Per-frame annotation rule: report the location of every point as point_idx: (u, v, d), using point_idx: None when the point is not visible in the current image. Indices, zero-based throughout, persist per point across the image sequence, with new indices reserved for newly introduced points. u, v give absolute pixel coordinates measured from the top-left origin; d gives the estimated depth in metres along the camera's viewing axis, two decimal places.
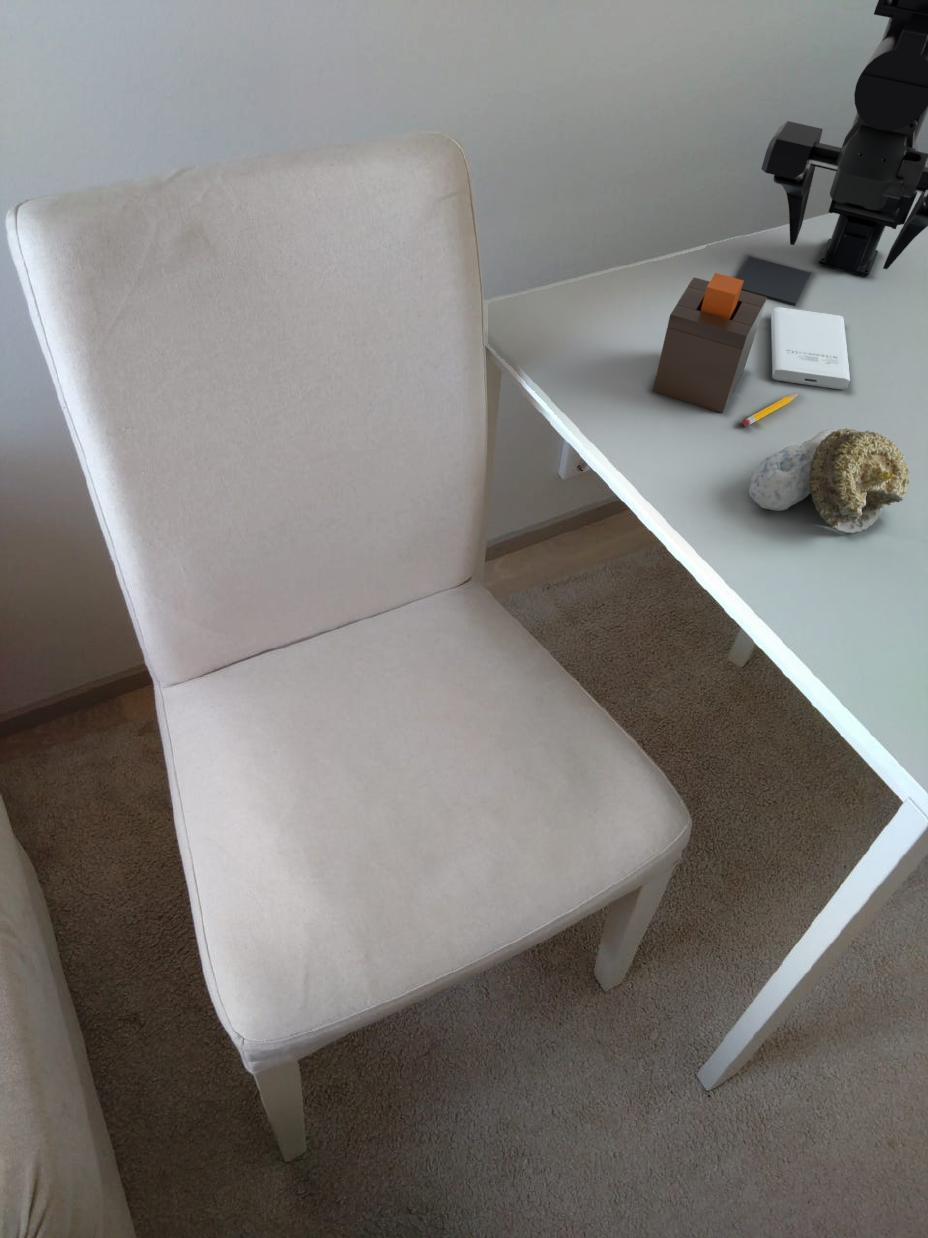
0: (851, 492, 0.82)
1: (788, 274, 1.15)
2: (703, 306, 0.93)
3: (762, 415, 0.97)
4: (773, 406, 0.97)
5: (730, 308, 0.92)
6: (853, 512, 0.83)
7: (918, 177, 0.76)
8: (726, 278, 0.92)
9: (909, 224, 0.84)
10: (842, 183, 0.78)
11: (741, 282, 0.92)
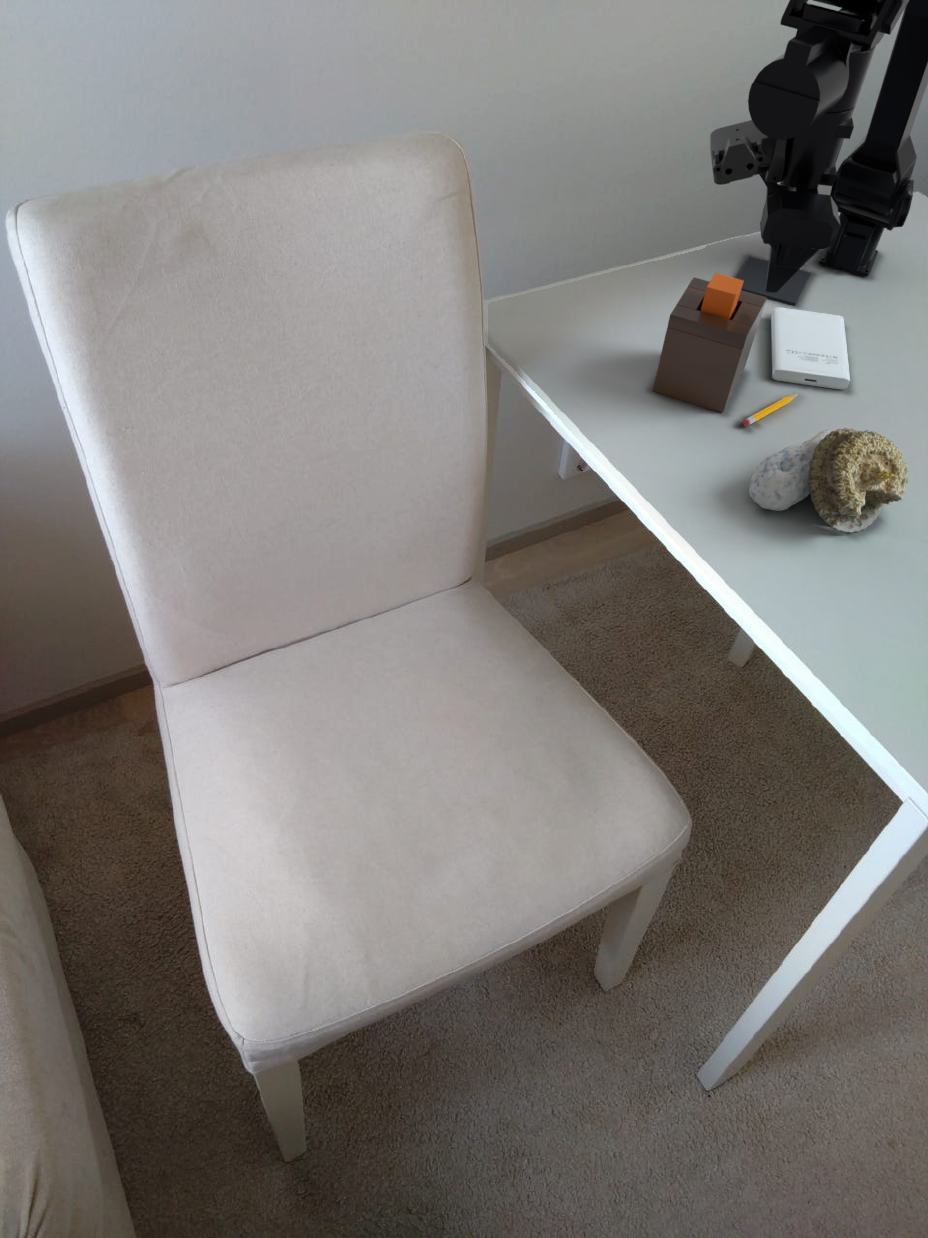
0: (850, 491, 0.82)
1: None
2: (703, 306, 0.93)
3: (762, 415, 0.97)
4: (773, 406, 0.97)
5: (730, 308, 0.92)
6: (852, 511, 0.83)
7: (724, 157, 0.80)
8: (726, 278, 0.92)
9: None
10: None
11: (741, 282, 0.92)
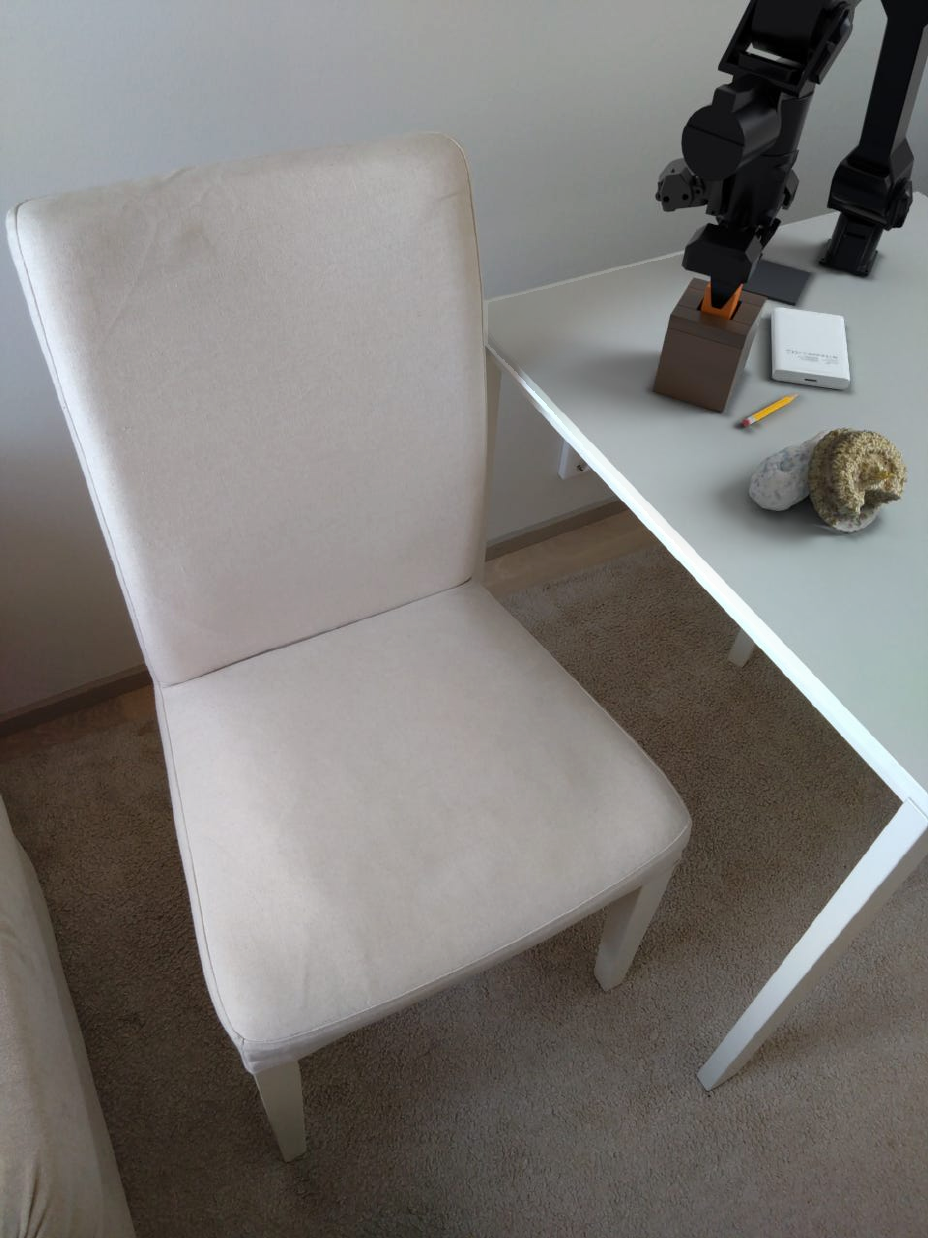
0: (850, 491, 0.82)
1: (788, 274, 1.15)
2: (703, 306, 0.93)
3: (762, 415, 0.97)
4: (773, 406, 0.97)
5: (730, 308, 0.92)
6: (851, 511, 0.83)
7: (662, 185, 0.84)
8: None
9: None
10: None
11: None
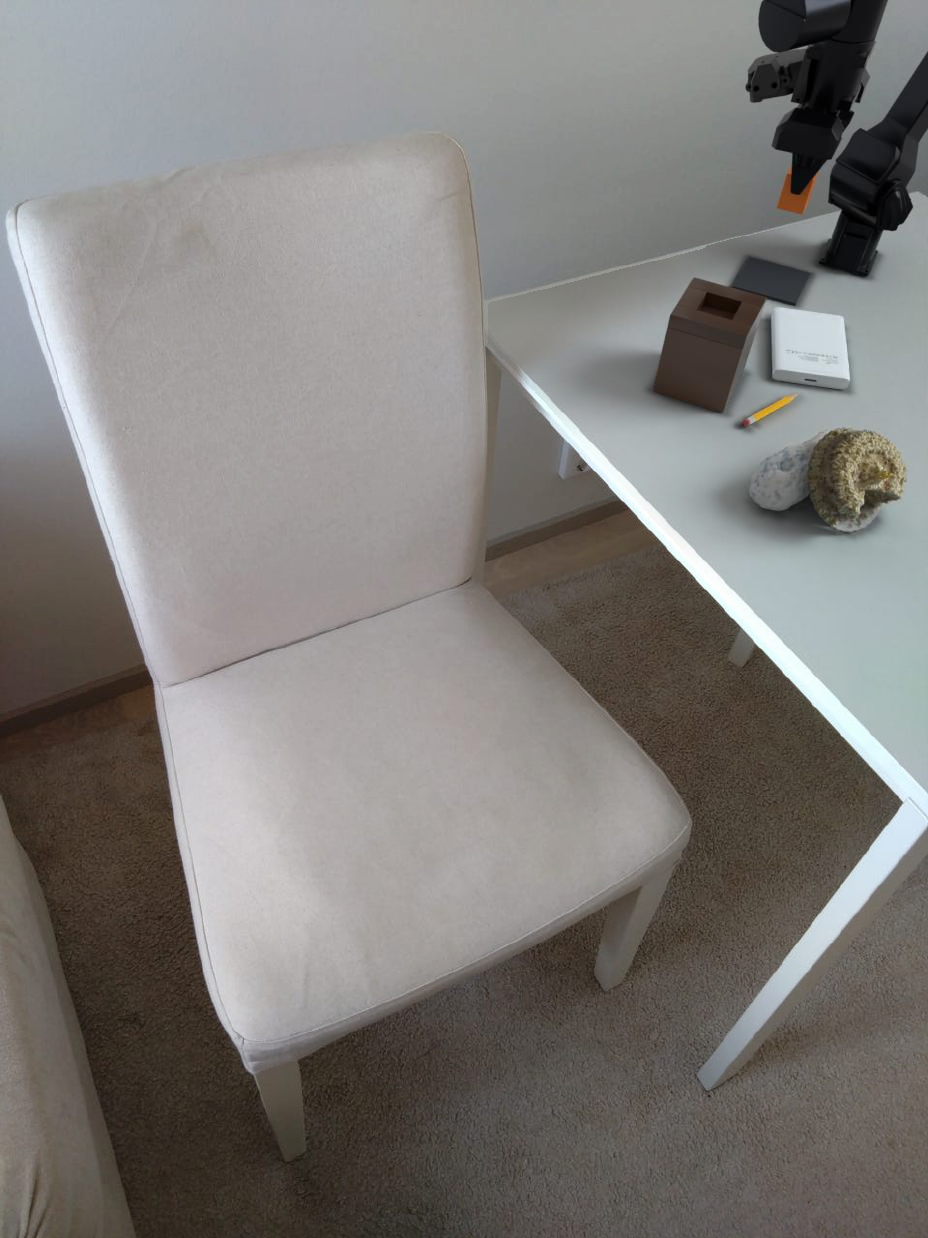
0: (850, 491, 0.82)
1: (788, 274, 1.15)
2: (782, 193, 1.03)
3: (762, 415, 0.97)
4: (773, 406, 0.97)
5: (807, 193, 1.02)
6: (851, 511, 0.83)
7: (753, 75, 0.94)
8: None
9: None
10: None
11: None
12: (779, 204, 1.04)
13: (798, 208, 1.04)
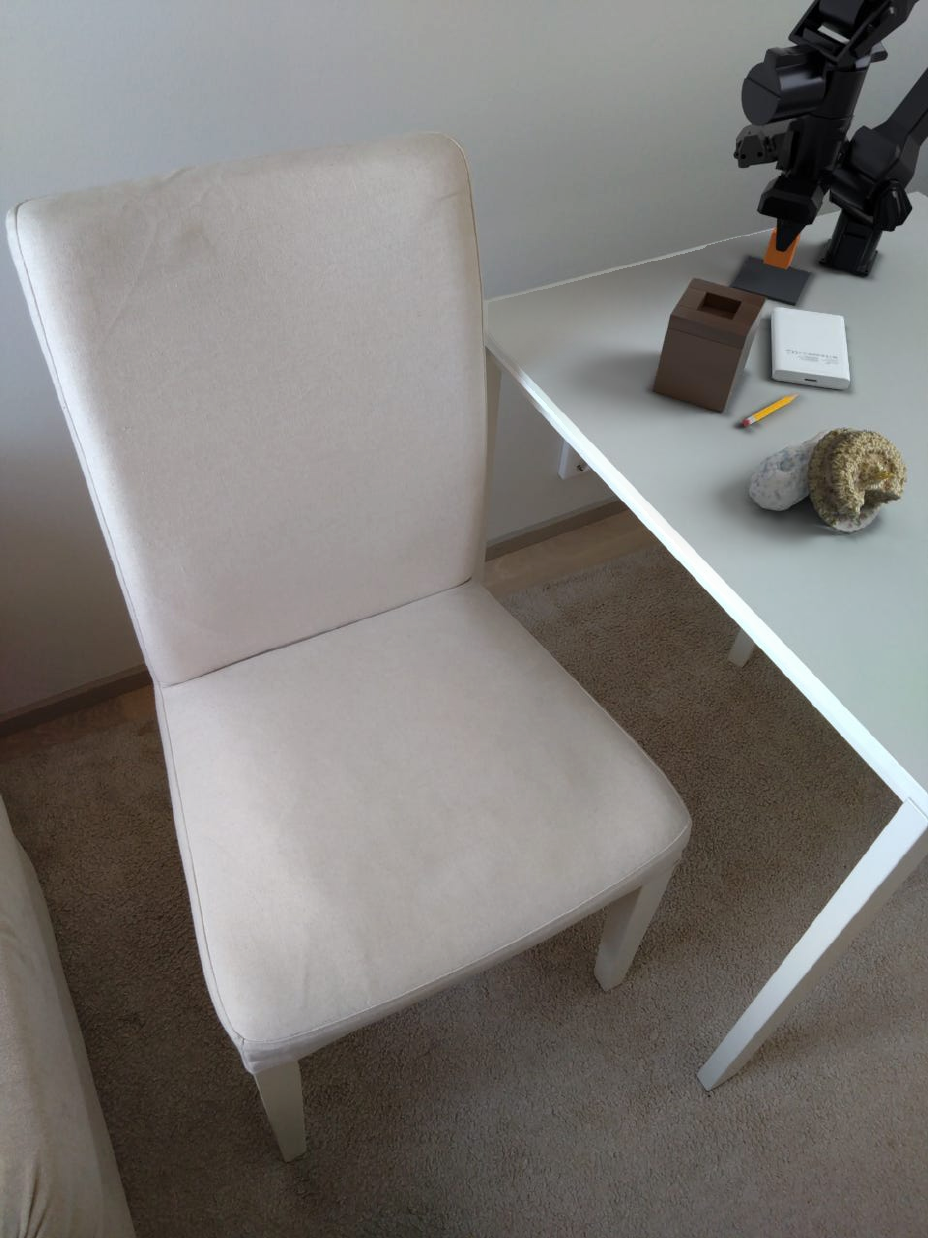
0: (850, 491, 0.82)
1: (788, 274, 1.15)
2: (768, 249, 1.10)
3: (762, 415, 0.97)
4: (773, 406, 0.97)
5: (791, 250, 1.09)
6: (851, 511, 0.83)
7: (740, 144, 1.01)
8: None
9: None
10: None
11: None
12: (765, 259, 1.11)
13: (783, 263, 1.11)
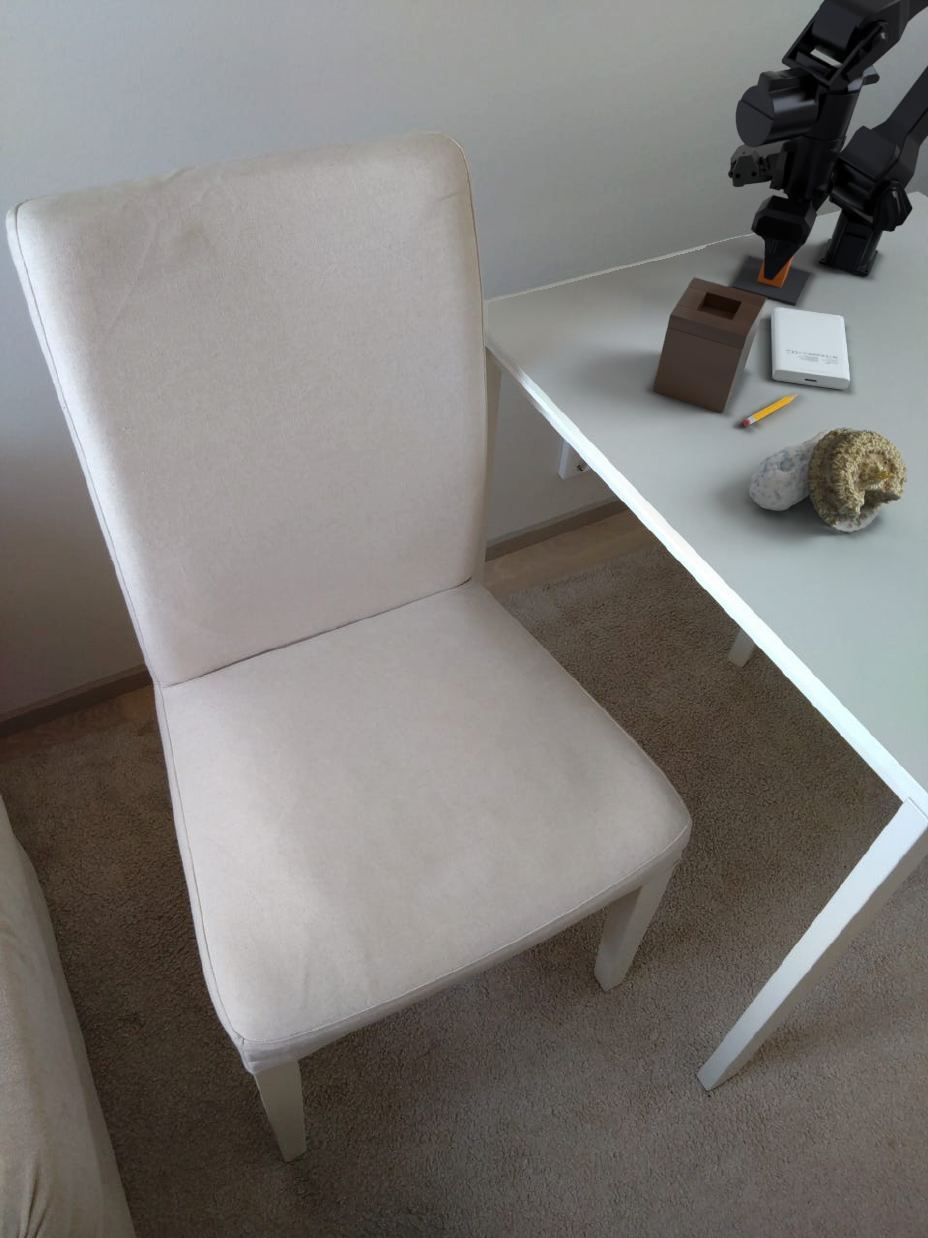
0: (850, 491, 0.82)
1: (788, 274, 1.15)
2: (762, 268, 1.12)
3: (762, 415, 0.97)
4: (773, 406, 0.97)
5: (785, 269, 1.11)
6: (851, 511, 0.83)
7: (735, 164, 1.03)
8: None
9: None
10: None
11: None
12: (759, 278, 1.13)
13: (777, 282, 1.13)
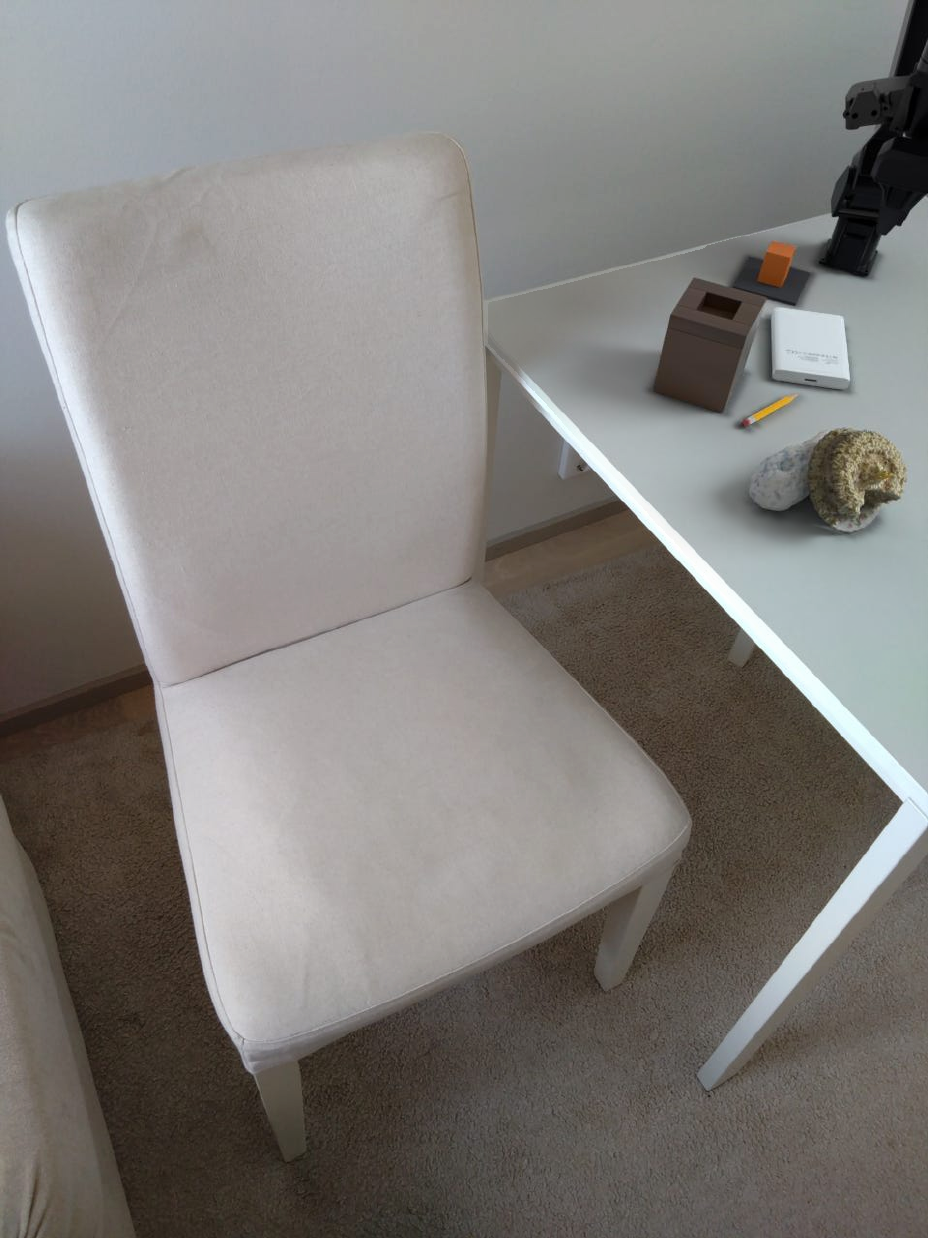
0: (850, 491, 0.82)
1: (788, 274, 1.15)
2: (762, 268, 1.12)
3: (762, 415, 0.97)
4: (773, 406, 0.97)
5: (785, 269, 1.11)
6: (851, 511, 0.83)
7: (852, 102, 0.92)
8: (781, 244, 1.12)
9: None
10: None
11: (794, 248, 1.11)
12: (759, 278, 1.13)
13: (777, 282, 1.13)
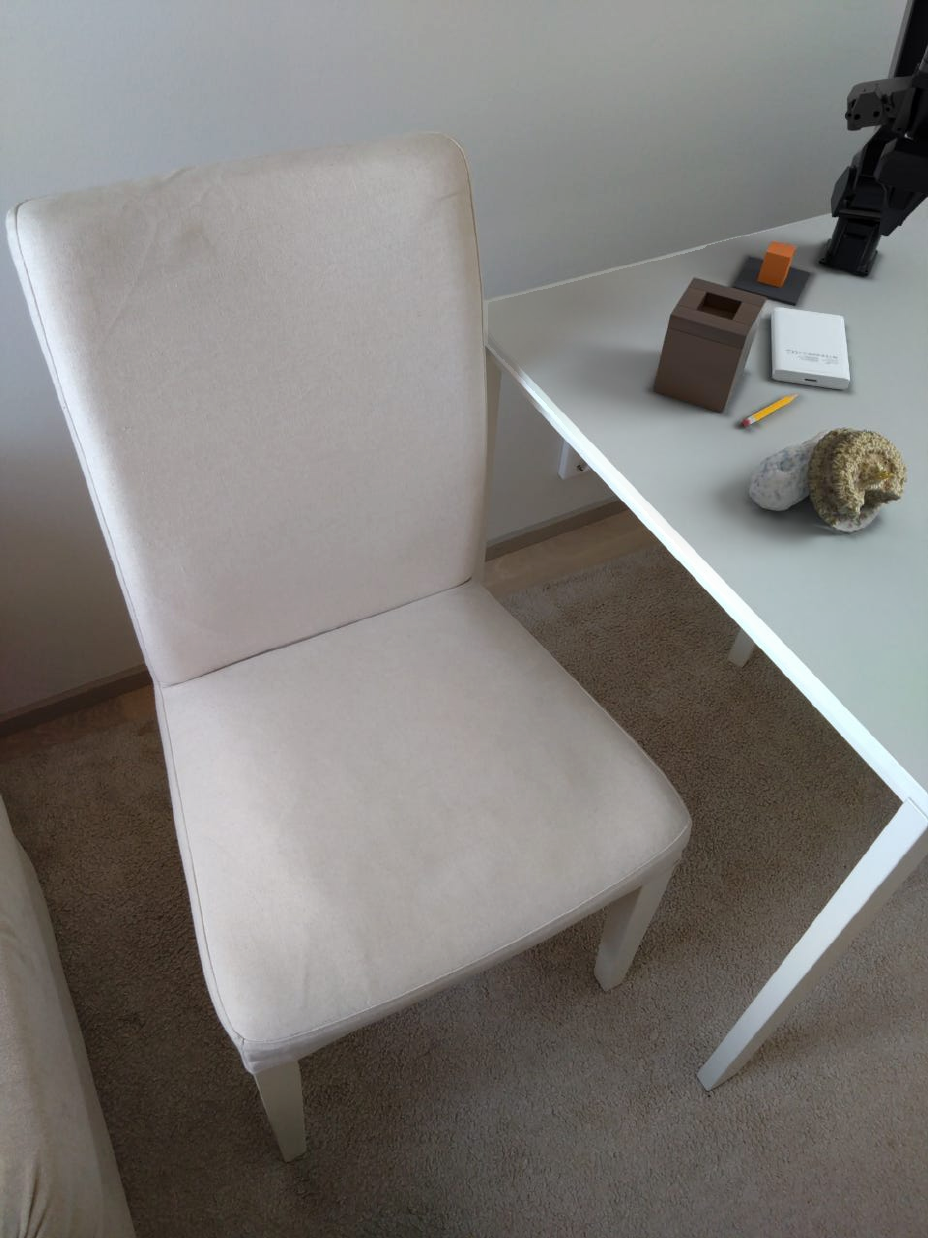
0: (850, 491, 0.82)
1: (788, 274, 1.15)
2: (762, 268, 1.12)
3: (762, 415, 0.97)
4: (773, 406, 0.97)
5: (785, 269, 1.11)
6: (851, 511, 0.83)
7: (855, 103, 0.92)
8: (781, 244, 1.12)
9: None
10: None
11: (794, 248, 1.11)
12: (759, 278, 1.13)
13: (777, 282, 1.13)
